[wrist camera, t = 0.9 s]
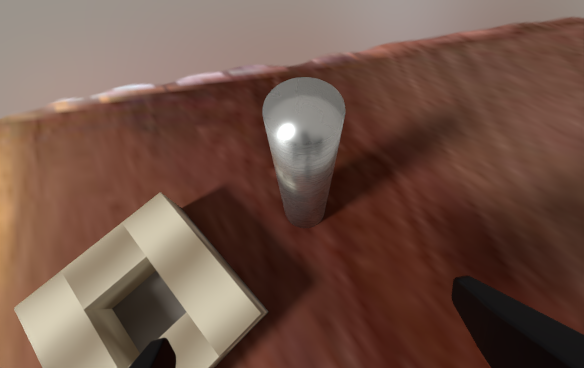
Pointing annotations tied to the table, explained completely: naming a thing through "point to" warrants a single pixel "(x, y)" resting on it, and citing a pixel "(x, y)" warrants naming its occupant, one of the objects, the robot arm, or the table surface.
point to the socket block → (141, 297)
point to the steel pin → (304, 144)
